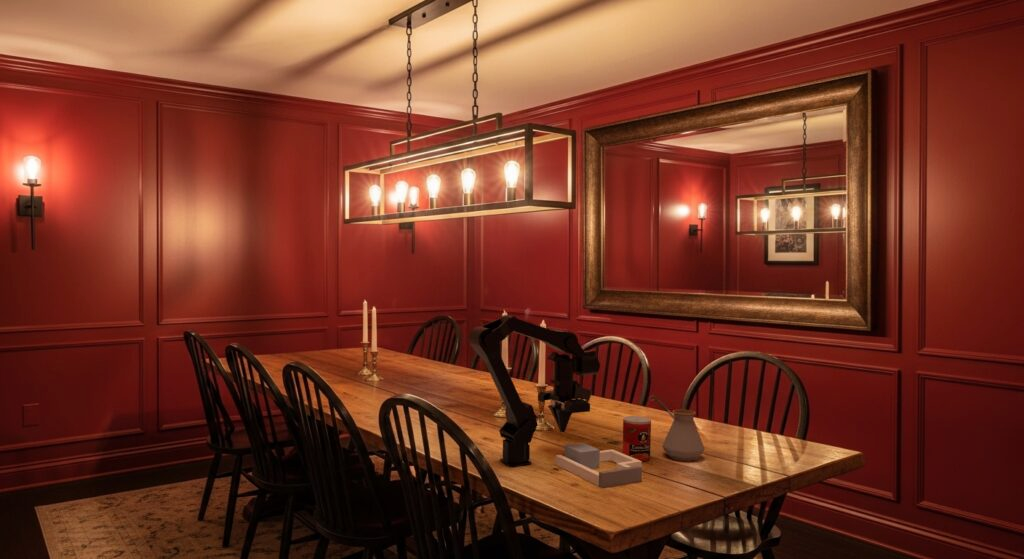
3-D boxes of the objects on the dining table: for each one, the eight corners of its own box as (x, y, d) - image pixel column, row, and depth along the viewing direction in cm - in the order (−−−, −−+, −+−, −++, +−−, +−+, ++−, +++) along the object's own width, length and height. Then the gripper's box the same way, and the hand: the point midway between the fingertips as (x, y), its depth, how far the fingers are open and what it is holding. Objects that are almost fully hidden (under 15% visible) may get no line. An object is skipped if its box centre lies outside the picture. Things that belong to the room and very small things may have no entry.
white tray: (602, 487, 172) (602, 473, 172) (555, 464, 191) (555, 451, 191) (659, 478, 181) (659, 464, 181) (608, 456, 200) (609, 444, 200)
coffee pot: (712, 460, 198) (714, 406, 197) (678, 464, 193) (680, 409, 193) (666, 441, 217) (667, 392, 217) (634, 445, 213) (635, 395, 212)
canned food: (630, 462, 194) (630, 422, 194) (617, 454, 202) (618, 416, 202) (655, 460, 196) (656, 421, 196) (642, 453, 204) (643, 415, 204)
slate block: (580, 471, 186) (580, 452, 186) (563, 463, 193) (564, 445, 193) (599, 468, 189) (599, 449, 189) (582, 460, 196) (582, 442, 196)
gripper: (607, 379, 194) (605, 436, 195) (569, 369, 211) (568, 422, 211) (572, 382, 189) (571, 440, 190) (537, 371, 206) (536, 425, 206)
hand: (562, 431), depth 199 cm, fingers closed
